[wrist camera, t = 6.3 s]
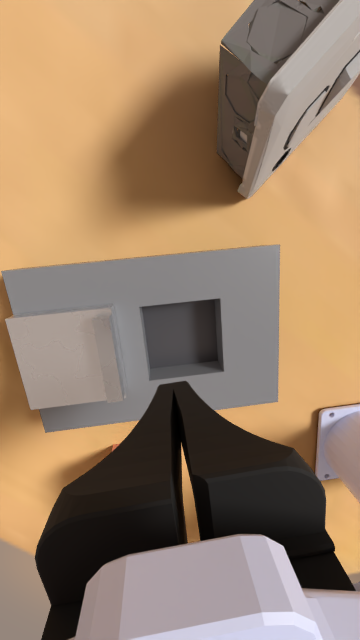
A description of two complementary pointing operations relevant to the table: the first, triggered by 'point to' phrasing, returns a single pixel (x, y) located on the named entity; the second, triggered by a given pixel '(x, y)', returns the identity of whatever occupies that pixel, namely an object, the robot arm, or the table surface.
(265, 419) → the table surface
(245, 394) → the socket plate
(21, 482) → the table surface
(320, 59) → the electrical switch
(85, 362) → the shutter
